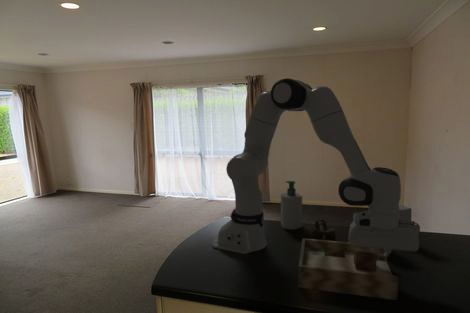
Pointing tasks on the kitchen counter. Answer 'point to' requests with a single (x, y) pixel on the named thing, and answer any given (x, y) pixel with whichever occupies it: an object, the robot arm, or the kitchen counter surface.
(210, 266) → the kitchen counter surface
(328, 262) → the tray
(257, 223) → the robot arm
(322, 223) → the kendama
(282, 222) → the soap bottle
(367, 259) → the walnut block
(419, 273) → the kitchen counter surface
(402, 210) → the skincare box
